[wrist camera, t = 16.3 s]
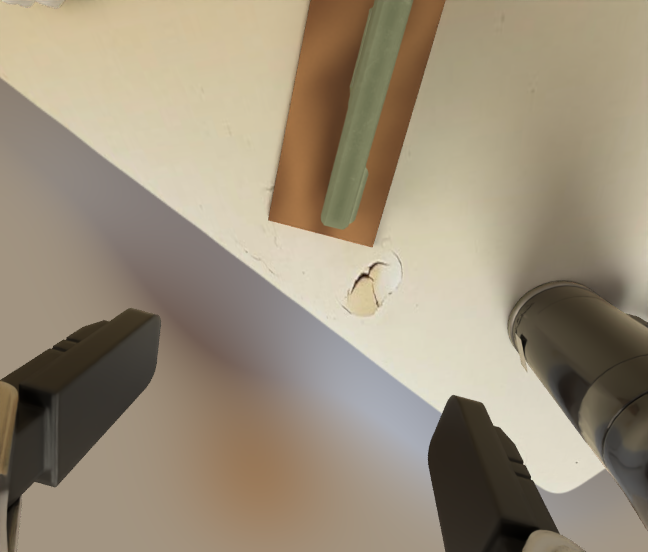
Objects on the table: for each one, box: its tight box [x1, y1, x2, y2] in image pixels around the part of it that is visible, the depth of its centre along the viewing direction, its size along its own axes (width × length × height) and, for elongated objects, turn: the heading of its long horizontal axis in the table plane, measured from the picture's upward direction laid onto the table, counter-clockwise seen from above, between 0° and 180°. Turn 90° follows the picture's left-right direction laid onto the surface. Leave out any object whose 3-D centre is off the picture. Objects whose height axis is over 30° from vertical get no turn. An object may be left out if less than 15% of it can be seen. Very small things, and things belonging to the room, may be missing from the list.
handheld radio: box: [321, 0, 413, 230], centre depth 31 cm, size 7×3×25 cm
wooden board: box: [268, 0, 445, 247], centre depth 35 cm, size 11×30×1 cm, turn 166°
